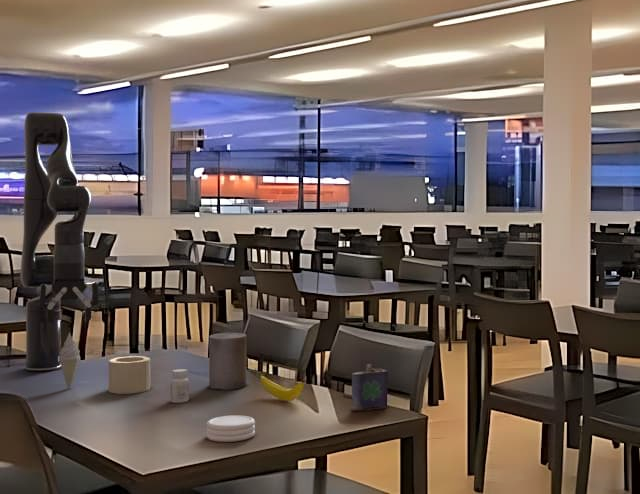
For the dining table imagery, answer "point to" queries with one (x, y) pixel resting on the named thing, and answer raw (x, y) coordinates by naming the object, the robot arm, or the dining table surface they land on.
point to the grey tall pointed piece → (69, 360)
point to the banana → (282, 389)
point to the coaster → (230, 428)
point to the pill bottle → (179, 386)
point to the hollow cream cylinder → (129, 374)
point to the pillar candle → (227, 361)
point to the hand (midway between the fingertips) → (69, 322)
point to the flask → (369, 389)
